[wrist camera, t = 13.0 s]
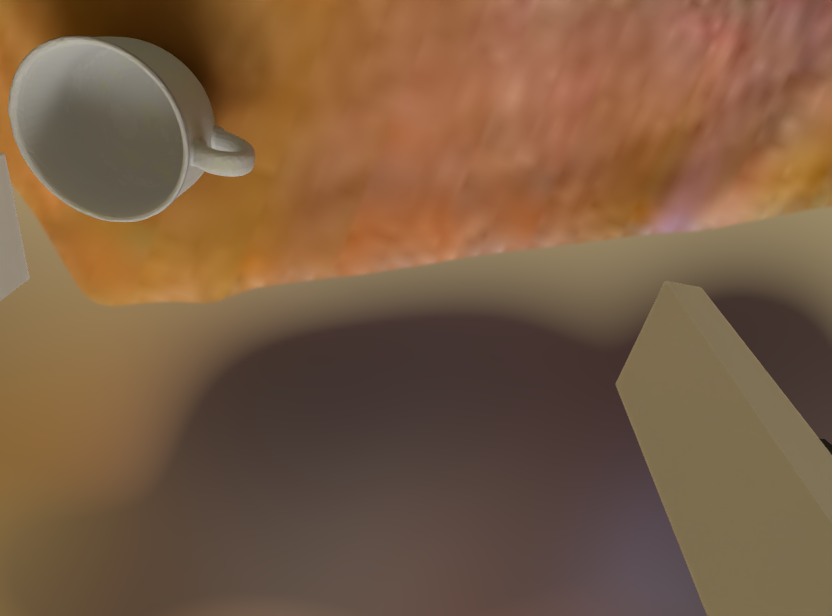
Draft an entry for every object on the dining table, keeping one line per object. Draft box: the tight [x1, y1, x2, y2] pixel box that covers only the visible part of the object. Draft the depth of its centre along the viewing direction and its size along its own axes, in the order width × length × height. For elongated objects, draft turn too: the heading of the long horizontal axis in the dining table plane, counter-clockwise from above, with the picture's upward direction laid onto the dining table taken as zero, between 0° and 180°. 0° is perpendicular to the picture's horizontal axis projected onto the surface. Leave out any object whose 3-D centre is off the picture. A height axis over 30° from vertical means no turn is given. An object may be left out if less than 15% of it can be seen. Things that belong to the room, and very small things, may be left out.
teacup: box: [8, 36, 255, 222], centre depth 37 cm, size 14×11×8 cm
